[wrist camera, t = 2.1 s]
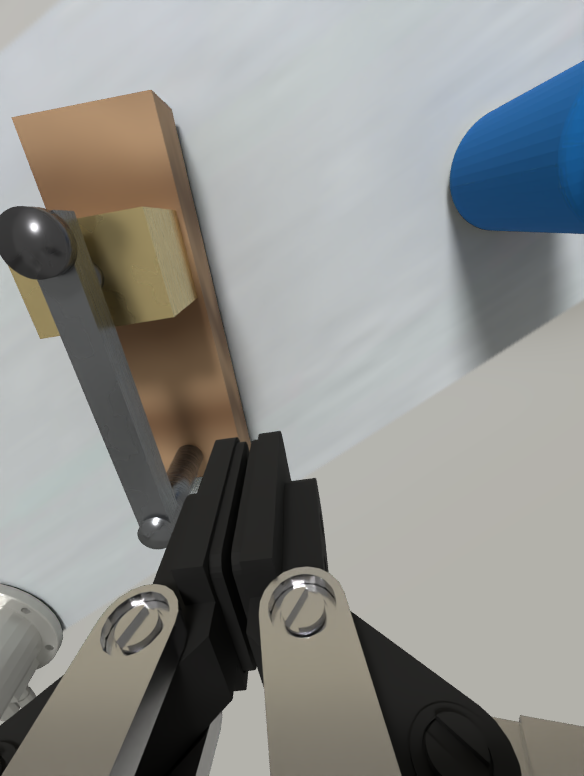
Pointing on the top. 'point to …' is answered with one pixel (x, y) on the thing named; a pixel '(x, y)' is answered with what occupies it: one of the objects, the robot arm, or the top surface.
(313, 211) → the top surface
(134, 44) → the top surface
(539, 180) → the beverage can
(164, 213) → the tan knob block
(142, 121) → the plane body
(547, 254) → the top surface
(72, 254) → the lever
